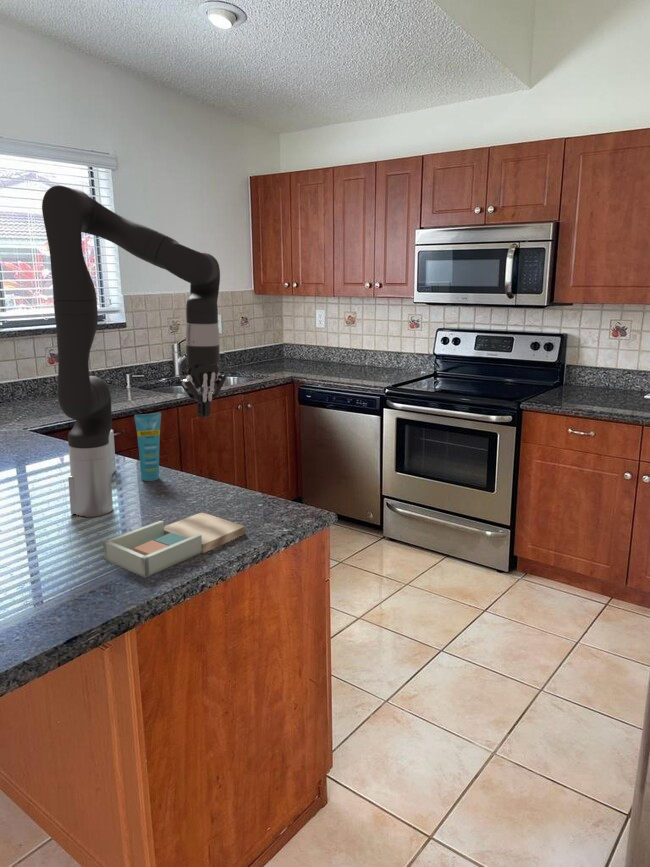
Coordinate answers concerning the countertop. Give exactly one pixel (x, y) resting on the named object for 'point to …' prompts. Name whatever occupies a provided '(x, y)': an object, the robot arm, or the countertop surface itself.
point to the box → (125, 556)
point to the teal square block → (170, 539)
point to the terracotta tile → (149, 547)
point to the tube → (148, 444)
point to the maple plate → (206, 530)
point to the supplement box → (112, 452)
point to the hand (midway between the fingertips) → (204, 416)
